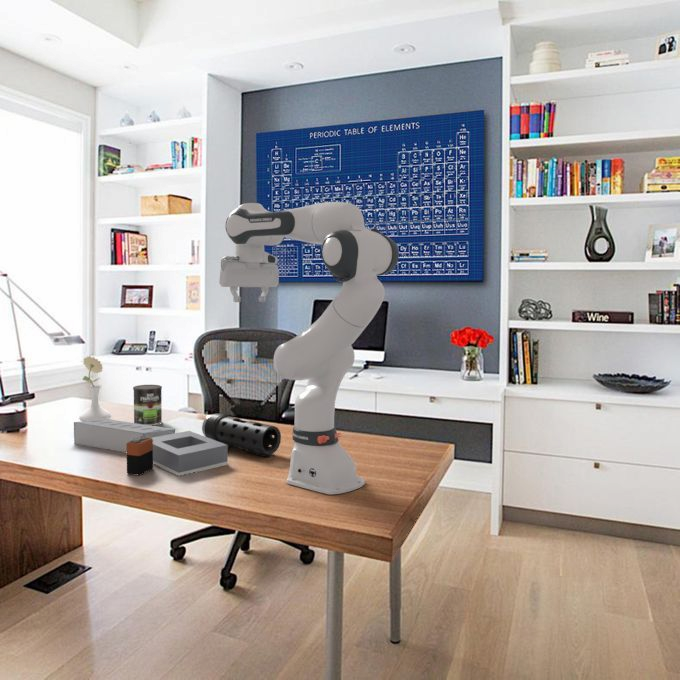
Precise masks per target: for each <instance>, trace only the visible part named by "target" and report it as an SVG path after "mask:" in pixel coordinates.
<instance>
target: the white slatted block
mask: <svg viewBox="0 0 680 680" xmlns="http://www.w3.org/2000/svg"><path fill="white" fill-rule="evenodd" d="M174 433H176V428H169V427H162V426H158V425H155V426H150V425H144V424H137V423H134V422H129V421H122V420H115V419H111V418H110V419H104V420H93V421H74V422H73V441H74V444H75V445H82V446H87V447H93V448H99V449H104V450H108V449H110V450H109V451H114V450H116V451H115V452H120V451H123V452H122V453H125V452H127V449H126V443H127V442H129V441H132V439H133V438H139V437H141V436H143V435H145V436H146V438H152V437H158V436H163V435H169V434H174Z"/></svg>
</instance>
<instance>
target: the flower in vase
mask: <svg viewBox="0 0 680 680" xmlns="http://www.w3.org/2000/svg"><path fill="white" fill-rule="evenodd" d="M82 360H83V361H82V362H83V365H84V366H85V368H86V369H87V370H88V371H89V372H88V376H86V375H85V376H83V378H82V381H85V382H88V383H89V382H90V383H91V385H87V388H88V390H89V392H90V396H91V404H90V405H89V407H88V408H87V409H86V410H85V411H83V412H82V413H81V414H80V415H79V417H78V420H79V422H82V421H93V420H104V419H110V420H111V418H112V415H111V413H110V412H109V411H108V410H106V409H105V408H103V407H102V406H101V405H100V404H99V392H100V389H101V388H102V385H101V384H94V382H97V381H98V380H99V378H96V379H95V380H93V381H92V380H91V377H90V376H91V372H93V373H94V374H95V373H96V374H100V373H101V372H103V364H102V363H101V361H100V360H98V358H95V357H94V356H86V357H84V358H83V359H82Z"/></svg>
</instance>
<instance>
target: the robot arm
mask: <svg viewBox="0 0 680 680" xmlns="http://www.w3.org/2000/svg"><path fill="white" fill-rule="evenodd" d="M225 231H226V234H227V236H228V237H229V239H230V240H231V241H232V242H233V244H235V245H234V247H235V249H234V252H235V255H234V256H233V255H231V256H230V255H226V256H224V257H223V258H222V259H221V260H220V271H219V279H218V280H219V281H218V282H219V285H220V286H221V287H223V288H229V291H230V293H231V295H232V297H233V300H232V301H233V303H241V301H242V300H241V299H242V297H241V296H239V294H238V292H237V291H239V288H260V291H262V292H261V294H260V295H258V303H259V302H260V303H265V302H266V301H267V300H266V298H267V295H268V293H269V291H270V288H277V287H278V286H279V282H280V280H279V278H280V276H279V268H278V265H277V264H278V262H279V260H278V257H277V256H275V255H273V254H271V253H269V252H267V251H265V246H272V247H273V246H277V245H278V246H279V245H281V244H282V242H283V241H284V240H285V238H286V239H291V240H295V241H300V242H304V243H306V244H307V243H308V244H313V245H321V250H320V253H321V259H322V263H323V264H324V266H325V268H326V269H327V271H328V272H329V273H330V274H331V275H332V279H334V280H335V281H336V282H339V283H342V286H341V289H340V290H339V292H338V293H337V294H336V296H335V297H334V298H333V300H332V301H331V302H330V303H329V304H328V306H327V307H326V309H325V310H324V311H323V312H322V314H321V316H319V317H318V318H317V320H315V321H314V322H313V323H312V324H311V325H309V326H307V328H306V329H304V330H303V331H302V332H300V333H299V334H298V335H296V336H295V337H293V338H291V339H290V340H288V341H286V342H284V343H281V344H280V345H278V346H277V348H276V349H275V351H274V355H273V366H274V369H275V371H276V373H277V374H278V376H279V377H280V378H283V379H285V380H290V381H306V380H307V383H306V385H305V387H304V389H303V390H302V391H301V392H300V393H299V394H297V396H296V398H295V400H294V426H293V428H292V440H293V446H292V451H291V454H290V463H289V469H288V470H289V472H288V474H287V478H286V484H288V485H292V486H295V487H298V488H303V489H307V490H309V491H310V490H311V491H313V492H317V493H322V494H326V495H339V494H345V493H349V492H351V491H355V490H357V489H359V488H361V487H363V486H365V484H366V481H365V478H362V477H361V476H358V474H357V465H356V461H355V460H354V459H353V458H352V456H351V455H350V454H349V453H348V452H347V450H346V449H345V448H344V447H343V446H342V445H341V443H340V442H339V438H341V437H342V433H341V432H337V429H336V426H335V410H336V398H337V394H338V391H339V388H340V386H341V383H342V381H343V379H344V378H345V375H346V374H347V373H348V372H349V371H350V370H351V369H352V367H353V365H354V363H355V351H354V348H353V346H352V345H353V344H354V343H355V342H356V340H357V339H358V338H359V337H360V336H361V334H362V333H363V331H365V329H366V328H367V326H368V325H369V324H370V323H371V322H372V320H373V319H374V317H375V316H376V314H377V313H378V311H379V309H380V308H381V306H382V303H383V301H384V299H385V295H386V291H385V287H384V285H383V283H382V282H381V281H380V280H379V279H378V276H383V275H387V274H388V273H390V272H392V271H393V270H394V269H395V268H396V267H397V264H398V262H399V258H400V257H399V256H400V253H399V248H398V245H397V244H396V242H395V241H394V240H393V239H392V238H390V237H389V236H387V235H385V234H383V233H382V232H381V231H379V230H378V229H376V228H371V229H368V228H367V227H366V226H365V219H364V216H363V213H362V211H361V209H360V208H359V207H358V206H357V205H355V204H354V203H351V202H342V201H324V202H319V203H314V204H310V205H309V204H308V205H305V206H302V207H296V208H289V209H286V210H285V209H284V210H281V211H280V210H279V211H273V212H272V211H269V210H267V209H266V208H264V206H263V205H262V204H261V203H260V202H245V203H242V204H240V205H239V206H237V208H235V209H234V210H232V212H231V213H230V214H229V215H228V216H227V218H226V220H225Z"/></svg>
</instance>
